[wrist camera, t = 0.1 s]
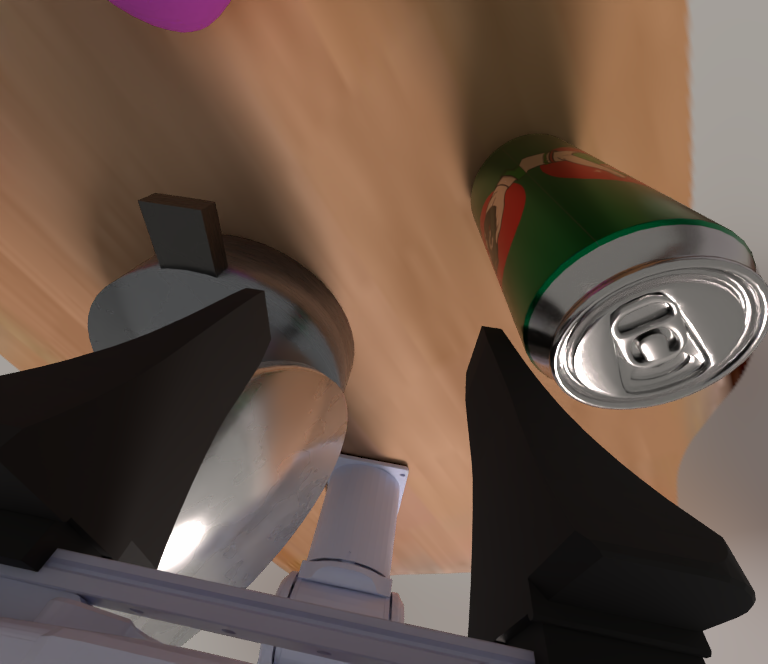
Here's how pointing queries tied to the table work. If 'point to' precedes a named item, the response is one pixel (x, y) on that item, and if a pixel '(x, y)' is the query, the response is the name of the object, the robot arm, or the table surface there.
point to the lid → (254, 482)
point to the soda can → (614, 277)
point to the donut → (174, 12)
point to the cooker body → (221, 288)
